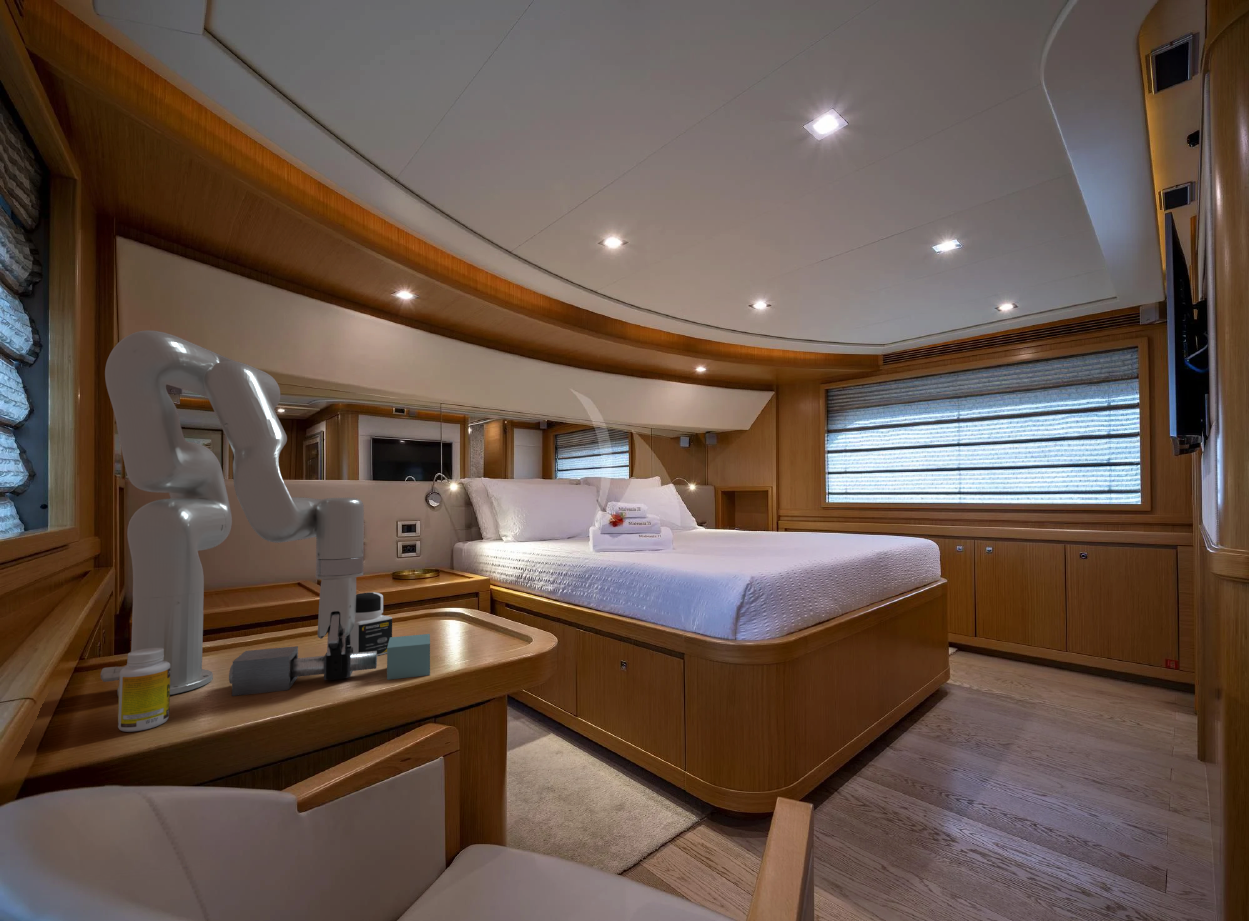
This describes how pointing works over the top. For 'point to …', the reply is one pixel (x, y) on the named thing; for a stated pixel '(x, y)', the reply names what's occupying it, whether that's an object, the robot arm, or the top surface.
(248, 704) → the top surface
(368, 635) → the medicine bottle
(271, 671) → the sleeve
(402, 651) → the block
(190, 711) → the top surface
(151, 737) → the top surface
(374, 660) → the grey long rod
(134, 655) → the supplement bottle
